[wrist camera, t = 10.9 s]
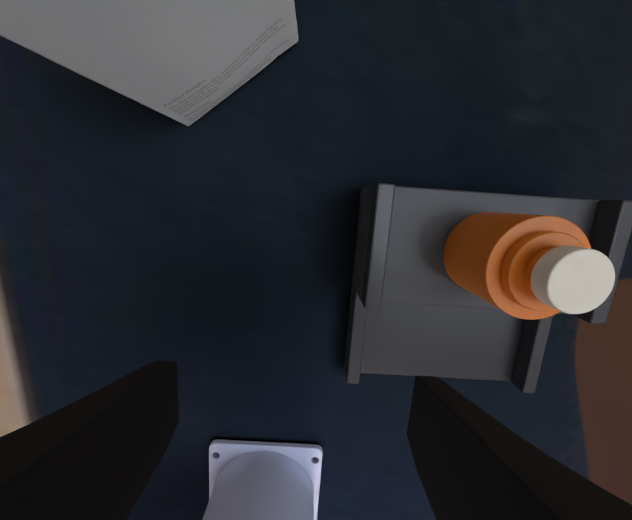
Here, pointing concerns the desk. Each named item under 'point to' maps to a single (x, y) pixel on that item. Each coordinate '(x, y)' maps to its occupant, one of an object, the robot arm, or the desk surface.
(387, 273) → the rack
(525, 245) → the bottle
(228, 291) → the desk surface
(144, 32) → the cosmetic box
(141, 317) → the desk surface
